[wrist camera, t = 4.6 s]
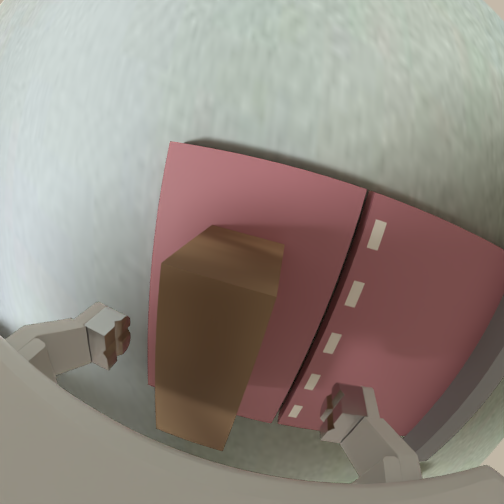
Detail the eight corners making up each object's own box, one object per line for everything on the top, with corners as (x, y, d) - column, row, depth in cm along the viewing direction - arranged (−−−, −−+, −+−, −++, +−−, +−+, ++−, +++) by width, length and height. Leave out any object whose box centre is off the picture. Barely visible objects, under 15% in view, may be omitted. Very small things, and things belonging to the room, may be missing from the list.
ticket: (274, 419, 16) (269, 455, 13) (374, 168, 10) (400, 169, 7) (433, 432, 15) (441, 458, 12) (541, 255, 9) (569, 271, 6)
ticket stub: (154, 374, 16) (115, 434, 10) (179, 142, 11) (100, 133, 6) (272, 411, 15) (261, 483, 10) (360, 187, 10) (415, 207, 5)
